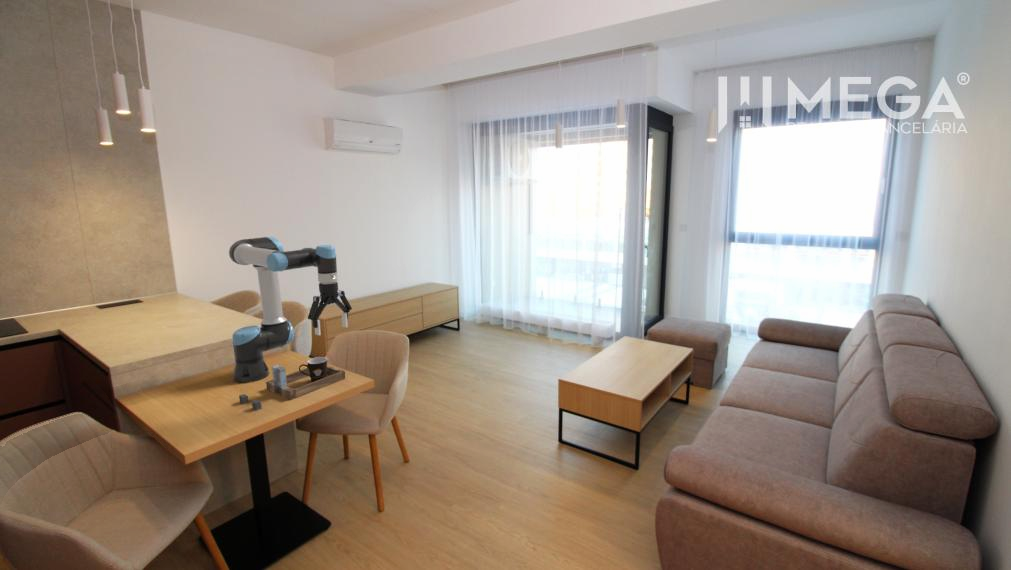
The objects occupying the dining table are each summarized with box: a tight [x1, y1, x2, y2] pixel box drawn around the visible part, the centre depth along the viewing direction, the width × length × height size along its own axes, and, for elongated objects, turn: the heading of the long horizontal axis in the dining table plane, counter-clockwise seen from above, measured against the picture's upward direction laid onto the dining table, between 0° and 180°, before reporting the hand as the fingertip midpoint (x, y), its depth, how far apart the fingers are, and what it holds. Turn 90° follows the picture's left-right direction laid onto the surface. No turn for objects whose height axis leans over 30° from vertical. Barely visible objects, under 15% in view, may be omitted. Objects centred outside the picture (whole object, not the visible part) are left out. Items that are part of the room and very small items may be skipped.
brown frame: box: [265, 364, 346, 400], centre depth 216 cm, size 18×28×12 cm
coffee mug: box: [298, 356, 328, 383], centre depth 220 cm, size 12×9×10 cm
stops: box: [238, 393, 262, 411], centre depth 196 cm, size 13×2×3 cm, turn 56°
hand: (331, 330), depth 204 cm, fingers open, 13 cm apart
